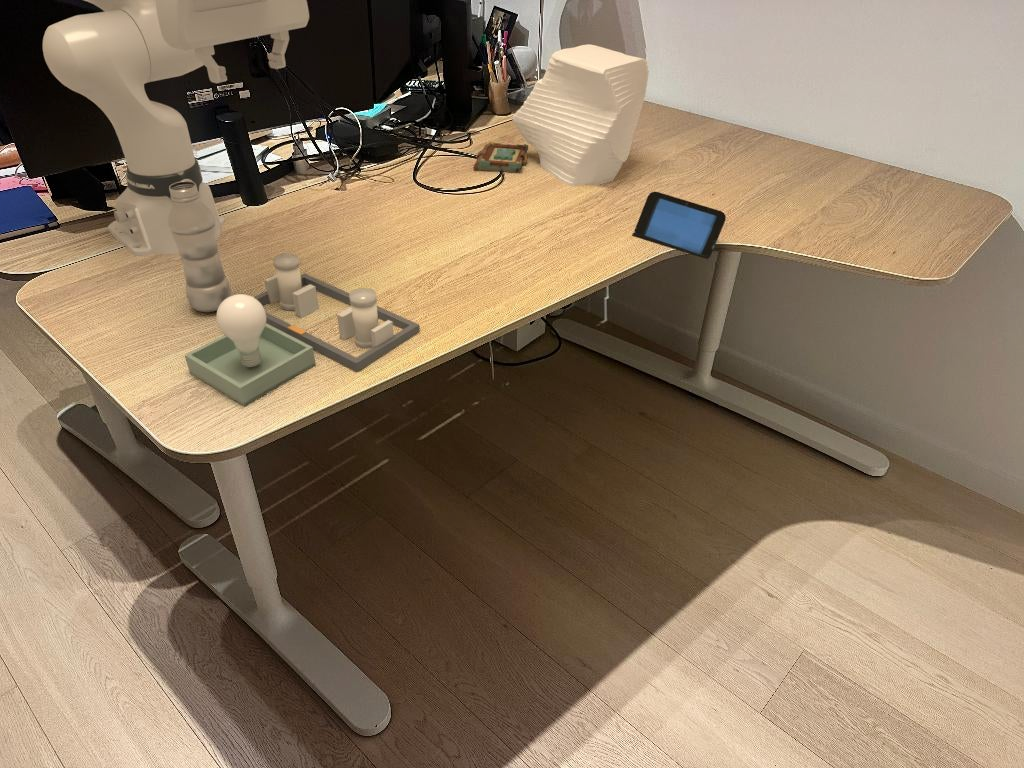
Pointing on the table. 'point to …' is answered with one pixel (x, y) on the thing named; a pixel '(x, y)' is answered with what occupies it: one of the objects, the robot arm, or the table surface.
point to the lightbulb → (243, 325)
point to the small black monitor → (679, 224)
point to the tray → (244, 383)
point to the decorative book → (501, 157)
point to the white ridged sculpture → (584, 113)
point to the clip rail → (308, 303)
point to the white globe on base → (287, 278)
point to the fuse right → (364, 315)
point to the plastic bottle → (197, 248)
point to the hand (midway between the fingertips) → (249, 74)
